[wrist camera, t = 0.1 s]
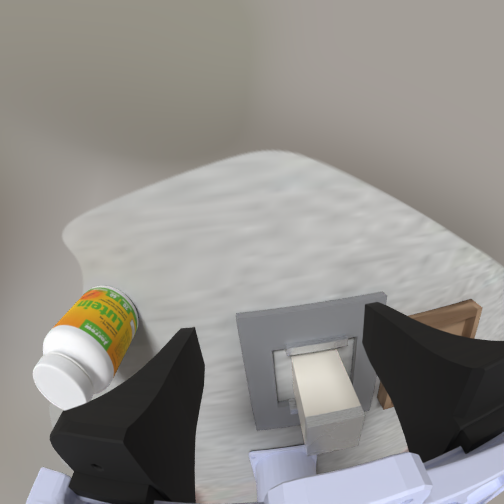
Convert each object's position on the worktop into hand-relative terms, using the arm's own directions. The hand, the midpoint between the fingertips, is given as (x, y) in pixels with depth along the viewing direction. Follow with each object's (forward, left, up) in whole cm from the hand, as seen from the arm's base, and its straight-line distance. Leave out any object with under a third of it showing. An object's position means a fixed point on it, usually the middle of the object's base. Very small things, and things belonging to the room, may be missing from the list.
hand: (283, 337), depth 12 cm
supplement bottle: (-3, +13, -10) cm, 17 cm away
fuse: (-11, -3, -10) cm, 16 cm away
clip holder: (-11, -3, -10) cm, 15 cm away
